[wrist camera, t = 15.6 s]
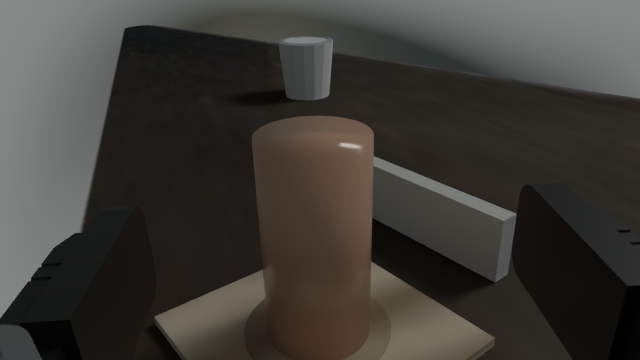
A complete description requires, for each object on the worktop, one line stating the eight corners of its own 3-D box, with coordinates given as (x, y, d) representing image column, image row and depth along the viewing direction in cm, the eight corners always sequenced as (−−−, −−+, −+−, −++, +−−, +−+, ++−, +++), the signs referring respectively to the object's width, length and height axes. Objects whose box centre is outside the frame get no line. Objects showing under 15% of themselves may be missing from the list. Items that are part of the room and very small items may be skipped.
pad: (493, 346, 25) (495, 336, 25) (288, 500, 18) (287, 489, 18) (334, 245, 33) (334, 237, 33) (155, 324, 27) (153, 315, 27)
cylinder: (391, 330, 25) (399, 135, 21) (308, 381, 22) (299, 168, 18) (326, 283, 29) (322, 109, 24) (248, 322, 26) (229, 133, 22)
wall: (507, 274, 30) (516, 213, 28) (495, 282, 29) (503, 220, 28) (366, 203, 39) (367, 153, 37) (354, 208, 38) (354, 157, 36)
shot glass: (271, 98, 66) (267, 42, 63) (296, 86, 72) (294, 34, 69) (319, 104, 63) (318, 45, 60) (342, 90, 69) (341, 36, 66)
